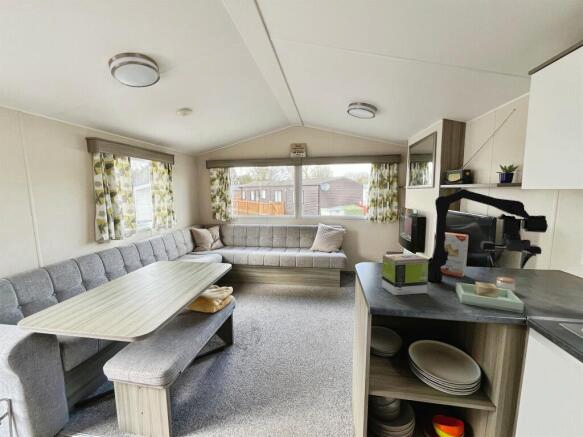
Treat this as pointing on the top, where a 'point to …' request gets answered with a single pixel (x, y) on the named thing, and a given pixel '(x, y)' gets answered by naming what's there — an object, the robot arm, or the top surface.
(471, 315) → the top surface
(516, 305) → the green tote
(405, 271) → the tea box
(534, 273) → the top surface
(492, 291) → the oak block
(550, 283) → the top surface
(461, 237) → the cracker box
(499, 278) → the cream tub
